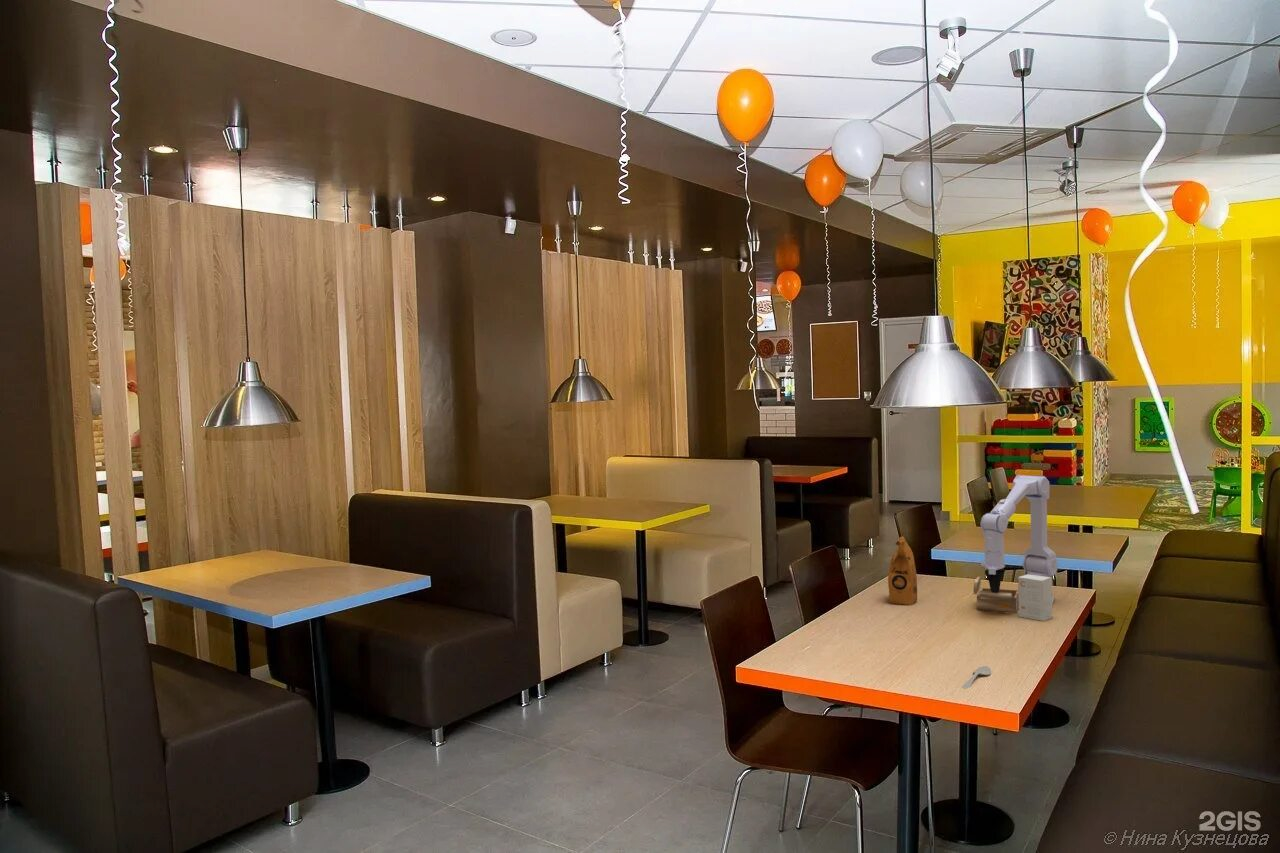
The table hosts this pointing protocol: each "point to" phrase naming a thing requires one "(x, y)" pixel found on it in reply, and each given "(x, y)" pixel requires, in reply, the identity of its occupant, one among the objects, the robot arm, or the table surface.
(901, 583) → the coffee package
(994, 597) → the front flap
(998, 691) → the table surface
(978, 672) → the spoon
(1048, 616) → the small box
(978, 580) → the side flap
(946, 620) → the table surface
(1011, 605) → the carton
